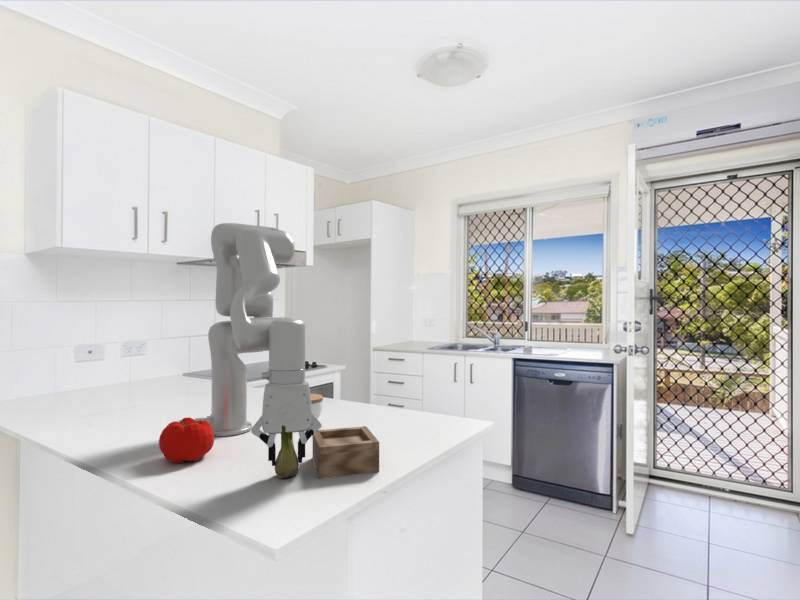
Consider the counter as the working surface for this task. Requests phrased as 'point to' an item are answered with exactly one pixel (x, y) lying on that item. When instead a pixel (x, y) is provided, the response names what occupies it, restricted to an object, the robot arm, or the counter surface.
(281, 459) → the fennel bulb
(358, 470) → the open walnut box
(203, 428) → the tomato
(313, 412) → the lidded jar
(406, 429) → the counter surface
